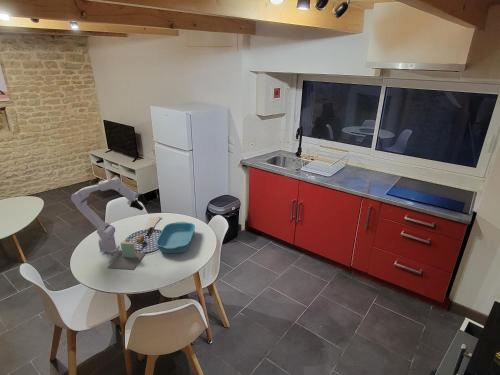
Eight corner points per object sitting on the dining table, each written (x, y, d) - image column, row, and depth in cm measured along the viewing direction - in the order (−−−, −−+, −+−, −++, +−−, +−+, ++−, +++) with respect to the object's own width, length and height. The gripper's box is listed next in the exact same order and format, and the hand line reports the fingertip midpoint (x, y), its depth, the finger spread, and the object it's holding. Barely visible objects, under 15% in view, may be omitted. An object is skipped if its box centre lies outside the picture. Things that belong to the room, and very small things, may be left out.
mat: (107, 268, 188) (107, 267, 187) (122, 251, 204) (121, 250, 204) (133, 269, 186) (133, 269, 186) (145, 253, 203) (145, 252, 203)
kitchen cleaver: (149, 216, 250) (161, 215, 249) (149, 218, 250) (162, 217, 250) (136, 237, 221) (150, 235, 220) (137, 239, 221) (150, 237, 221)
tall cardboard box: (138, 240, 217) (137, 234, 215) (147, 241, 216) (146, 235, 214) (130, 250, 206) (129, 243, 204) (139, 250, 205) (138, 244, 203)
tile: (122, 257, 197) (120, 243, 194) (124, 255, 199) (121, 242, 195) (135, 257, 197) (132, 244, 193) (136, 256, 198) (134, 242, 195)
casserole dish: (167, 229, 232) (166, 220, 230) (197, 229, 233) (197, 220, 230) (153, 257, 198) (152, 248, 196) (188, 257, 198) (187, 248, 196)
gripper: (125, 192, 183) (144, 207, 185) (135, 184, 196) (153, 197, 198) (118, 200, 185) (137, 215, 187) (129, 191, 198) (147, 205, 201)
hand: (145, 206), depth 193 cm, fingers open, 7 cm apart
